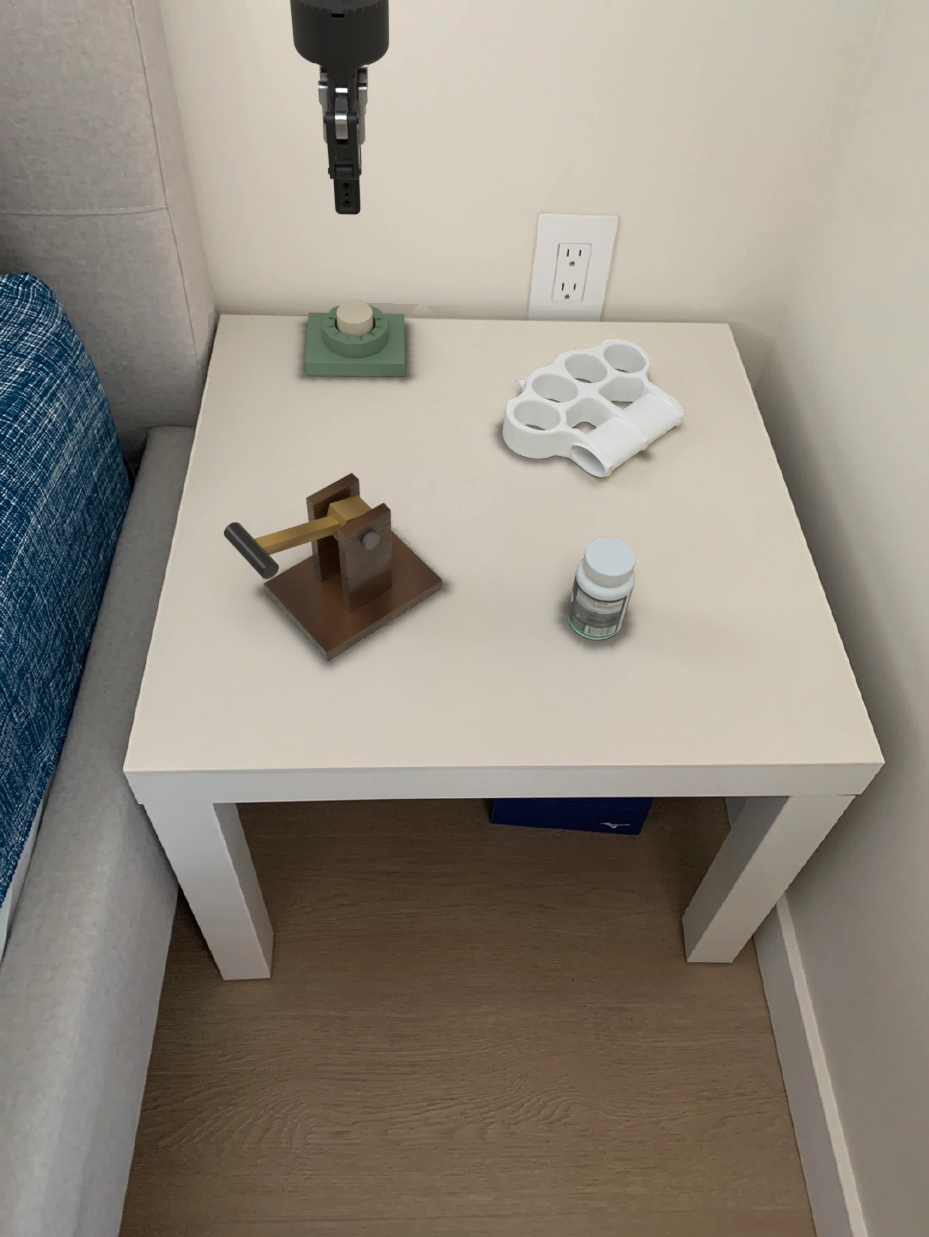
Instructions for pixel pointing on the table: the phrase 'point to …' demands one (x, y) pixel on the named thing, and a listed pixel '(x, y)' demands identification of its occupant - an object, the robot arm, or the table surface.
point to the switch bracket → (351, 576)
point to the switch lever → (292, 535)
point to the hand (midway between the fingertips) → (348, 192)
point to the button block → (355, 347)
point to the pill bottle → (602, 588)
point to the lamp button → (354, 318)
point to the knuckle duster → (590, 408)
